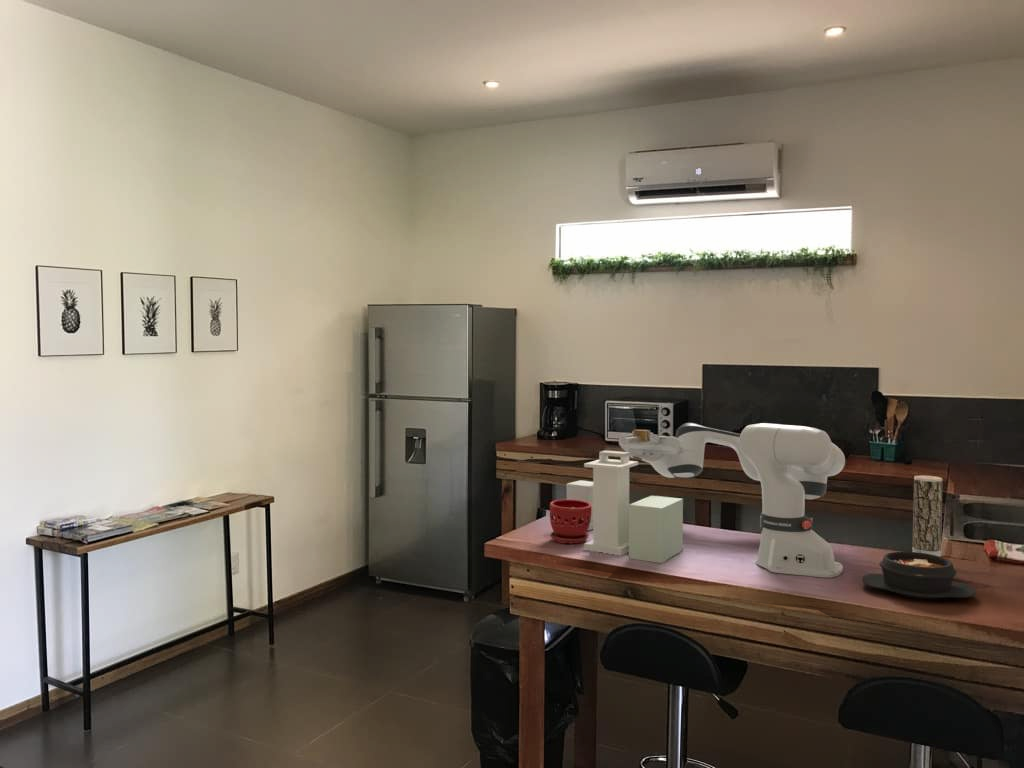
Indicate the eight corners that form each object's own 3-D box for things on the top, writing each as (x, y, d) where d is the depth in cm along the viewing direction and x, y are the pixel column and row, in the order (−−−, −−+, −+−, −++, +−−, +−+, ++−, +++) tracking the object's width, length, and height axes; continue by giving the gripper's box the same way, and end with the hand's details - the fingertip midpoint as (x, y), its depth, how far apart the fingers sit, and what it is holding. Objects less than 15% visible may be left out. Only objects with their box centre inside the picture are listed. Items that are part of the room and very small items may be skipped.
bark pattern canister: (925, 573, 211) (927, 480, 210) (906, 566, 217) (908, 476, 216) (946, 571, 213) (948, 479, 211) (926, 564, 219) (928, 475, 218)
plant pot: (553, 546, 241) (553, 507, 240) (546, 536, 254) (546, 499, 253) (595, 545, 243) (595, 506, 242) (586, 535, 256) (586, 498, 255)
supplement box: (603, 526, 268) (603, 482, 267) (588, 531, 261) (588, 486, 260) (581, 522, 273) (580, 479, 273) (565, 527, 266) (565, 483, 266)
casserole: (860, 597, 192) (861, 563, 191) (861, 576, 209) (862, 545, 208) (980, 611, 182) (981, 575, 181) (970, 588, 198) (971, 555, 198)
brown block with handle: (650, 441, 256) (650, 430, 256) (632, 444, 244) (632, 432, 244) (638, 440, 259) (638, 429, 258) (620, 443, 247) (620, 431, 247)
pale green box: (682, 550, 236) (682, 498, 235) (661, 563, 222) (662, 508, 222) (651, 546, 241) (651, 495, 240) (629, 558, 228) (629, 504, 227)
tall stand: (637, 546, 240) (638, 451, 239) (621, 555, 230) (621, 456, 229) (602, 541, 247) (602, 449, 245) (584, 550, 237) (584, 453, 235)
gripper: (684, 461, 259) (670, 445, 249) (626, 457, 270) (611, 441, 260) (687, 444, 261) (674, 426, 251) (630, 440, 272) (615, 423, 262)
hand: (641, 434), depth 255 cm, fingers closed on brown block with handle, 4 cm apart
